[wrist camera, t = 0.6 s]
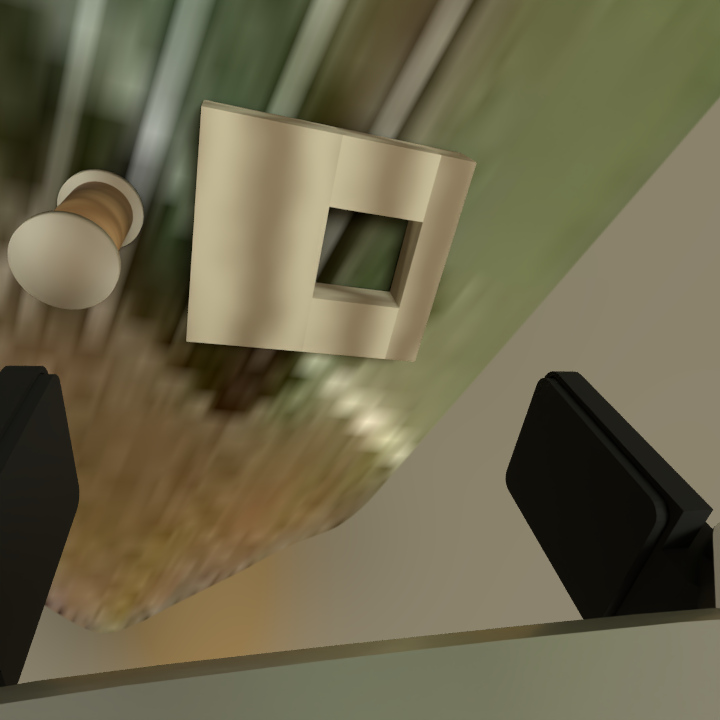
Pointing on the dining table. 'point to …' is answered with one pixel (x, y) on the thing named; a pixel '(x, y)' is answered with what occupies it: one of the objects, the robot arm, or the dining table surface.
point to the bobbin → (77, 241)
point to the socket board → (313, 233)
